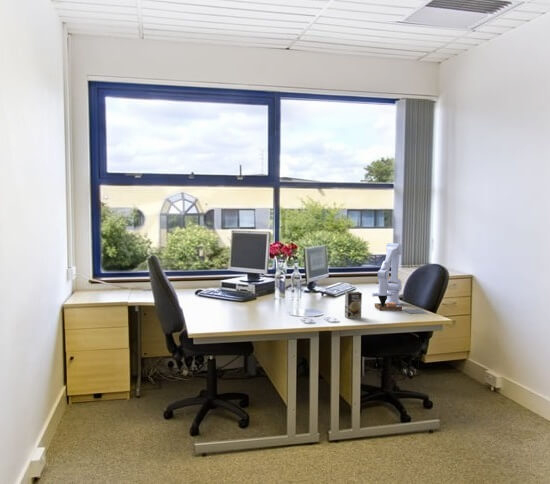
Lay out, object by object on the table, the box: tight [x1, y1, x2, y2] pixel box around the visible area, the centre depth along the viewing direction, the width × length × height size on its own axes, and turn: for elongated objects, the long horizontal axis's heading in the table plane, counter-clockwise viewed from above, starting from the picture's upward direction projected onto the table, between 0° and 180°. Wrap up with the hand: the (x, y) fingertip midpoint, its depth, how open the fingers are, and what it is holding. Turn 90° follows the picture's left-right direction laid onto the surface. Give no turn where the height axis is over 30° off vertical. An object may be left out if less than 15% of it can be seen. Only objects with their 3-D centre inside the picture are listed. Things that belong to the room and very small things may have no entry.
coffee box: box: [344, 291, 363, 320], centre depth 309 cm, size 9×6×16 cm
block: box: [386, 302, 396, 307], centre depth 336 cm, size 5×5×4 cm
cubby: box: [374, 302, 403, 312], centre depth 336 cm, size 12×16×2 cm
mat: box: [402, 308, 428, 315], centre depth 328 cm, size 12×12×1 cm
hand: (382, 306), depth 336 cm, fingers closed
